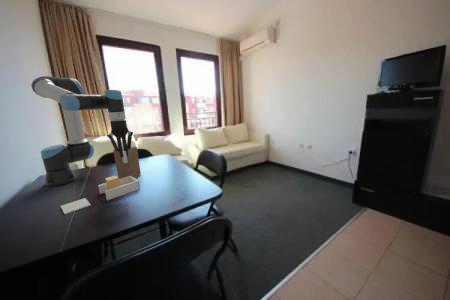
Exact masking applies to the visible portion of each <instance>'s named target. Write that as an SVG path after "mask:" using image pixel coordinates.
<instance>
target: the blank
mask: <svg viewBox="0 0 450 300" xmlns="http://www.w3.org/2000/svg"><path fill="white" fill-rule="evenodd" d="M105 183H106V185H107V190H109V189H112V188H116V187H119V186H120V183H119V178H118V175H112V176H109V177H105Z"/></svg>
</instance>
